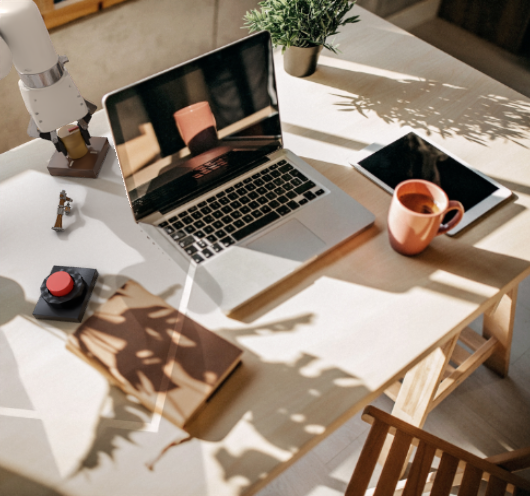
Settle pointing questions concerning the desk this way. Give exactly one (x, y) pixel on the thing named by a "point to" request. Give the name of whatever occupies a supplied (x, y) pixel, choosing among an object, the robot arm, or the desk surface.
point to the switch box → (67, 296)
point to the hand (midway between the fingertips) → (75, 146)
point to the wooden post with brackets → (62, 210)
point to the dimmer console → (81, 160)
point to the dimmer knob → (73, 141)
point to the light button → (60, 283)
